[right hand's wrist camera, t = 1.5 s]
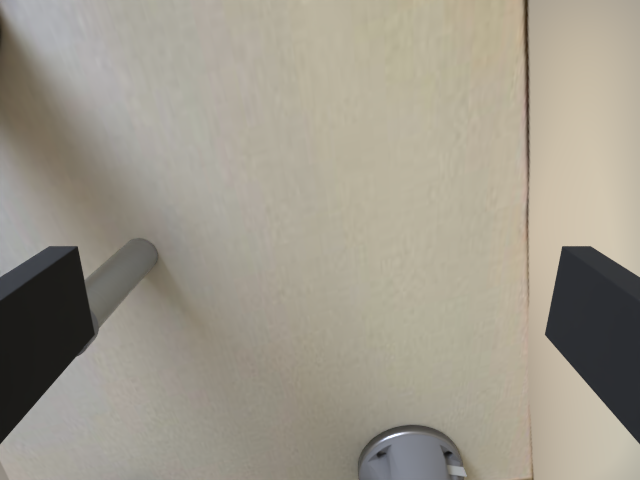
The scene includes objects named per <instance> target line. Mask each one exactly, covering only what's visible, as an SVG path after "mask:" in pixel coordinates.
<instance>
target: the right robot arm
mask: <svg viewBox="0 0 640 480" xmlns="http://www.w3.org/2000/svg"><path fill="white" fill-rule="evenodd" d="M94 335H95V332H94V327H93V322H92V317H91V312H90V307H89V302H88V296H87V291H86V286H85V281H84V276H83V271H82V266H81V261H80V256H79V251H78V246H49V247H48V248H46V249H44V250H43V251H41V252H40V253H38V254H37V255H35V256H33V257H32V258H30V259H29V260H27V261H25V262H24V263H22V264H21V265H19V266H18V267H16V268H14V269H13V270H11V271H10V272H8V273H6V274H5V275H3V276H2V277H0V444H1V443H2V441H3V440H4V439H5V438H6V437H7V436H8V434H9V433H10V432H11V431H12V430H13V429H14V428H15V426H16V425H17V424H18V423H19V422H20V421H21V420H22V418H23V417H24V416H25V415H26V414H27V413H28V411H29V410H30V409H31V408H32V407H33V406H34V405H35V403H36V402H37V401H38V400H39V399H40V398H41V396H42V395H43V394H44V393H45V392H46V391H47V390H48V388H49V387H50V386H51V385H52V384H53V383H54V381H55V380H56V379H57V378H58V377H59V376H60V375H61V373H62V372H63V371H64V370H65V369H66V368H67V366H68V365H69V364H70V363H71V362H72V361H73V360H74V358H75V357H76V356H77V355H78V354H79V353H80V351H81V350H82V349H83V348H84V347H85V346H86V345H87V343H88V342H89V341H90V340H91V339H92V338H93V336H94ZM545 335H546V336H547V338H548V339H549V340H550V341H551V342H552V343H553V345H554V346H555V347H556V348H557V349H558V350H559V351H560V353H561V354H562V355H563V356H564V357H565V358H566V360H567V361H568V362H569V363H570V364H571V365H572V366H573V368H574V369H575V370H576V371H577V372H578V373H579V375H580V376H581V377H582V378H583V379H584V380H585V381H586V383H587V384H588V385H589V386H590V387H591V388H592V390H593V391H594V392H595V393H596V394H597V395H598V396H599V398H600V399H601V400H602V401H603V402H604V403H605V404H606V406H607V407H608V408H609V409H610V410H611V411H612V413H613V414H614V415H615V416H616V417H617V418H618V419H619V421H620V422H621V423H622V424H623V425H624V426H625V427H626V429H627V430H628V431H629V432H630V433H631V434H632V436H633V437H634V438H635V439H636V440H637V441H638V443H639V444H640V277H638V276H637V275H635V274H634V273H632V272H630V271H629V270H627V269H626V268H624V267H622V266H621V265H619V264H618V263H616V262H615V261H613V260H611V259H610V258H608V257H607V256H605V255H603V254H602V253H600V252H599V251H597V250H596V249H594V248H592V247H591V246H563V247H562V251H561V256H560V261H559V266H558V271H557V276H556V281H555V286H554V291H553V296H552V302H551V307H550V312H549V317H548V322H547V327H546V332H545ZM358 474H359V480H464V476H465V477H467V475H466V472H465V470H464V467H463V463H462V460H461V457H460V454H459V452H458V449H457V447H456V446H455V444H454V443H453V442H452V440H451V439H450V438H448V437H447V436H446V435H444V434H443V433H441V432H439V431H437V430H435V429H432V428H429V427H424V426H415V425H411V426H401V427H396V428H393V429H390V430H387V431H385V432H383V433H381V434H379V435H378V436H376V437H375V438H374V439H372V440H371V441H370V442H369V443H368V444H367V445H366V447H365V448H364V450H363V451H362V453H361V455H360V458H359V462H358Z"/></svg>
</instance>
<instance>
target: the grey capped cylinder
mask: <svg viewBox="0 0 640 480" xmlns="http://www.w3.org/2000/svg"><path fill="white" fill-rule="evenodd" d="M157 258H158V254H157V250H156V248H155V247H154V245H153V244H152V243H150V242H149V241H147V240H145V239H140V238H137V239H133V240H130V241H129V242H128V243H127V244H125V245H124V246H123V247H122V248H121V249H120V250H119V251H117V252H116V253H115V254H114V255H113V256H112V257H110V258H109V259H108V260H107V261H106V262H105V263H104V264H102V265H101V266H100V267H99V268H98V269H97V270H96V271H94V272H93V273H92V274H91V275H90V276H89V277H87V278H86V279H85V280H84V281H85V286H86V291H87V296H88V302H89V307H90V309H91V310H92V311H93V313H94V314H95V315H96V317H97V320H98V324H99V328H100V327H101V325H102V324H103V323H104V322H105V321H106V320H107V318H108V317H109V316H110V315H111V314H112V313H113V312H114V310H115V309H116V308H117V307H118V306H119V305H120V304H121V302H122V301H123V300H124V299H125V298H126V297H127V296H128V294H129V293H130V292H131V291H132V290H133V289H134V288H135V286H136V285H137V284H138V283H139V282H140V281H141V280H142V278H143V277H144V276H145V275H146V274H147V273H148V272H149V270H150V269H151V268H152V267H153V266H154V265H155V263H156V262H157Z"/></svg>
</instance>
